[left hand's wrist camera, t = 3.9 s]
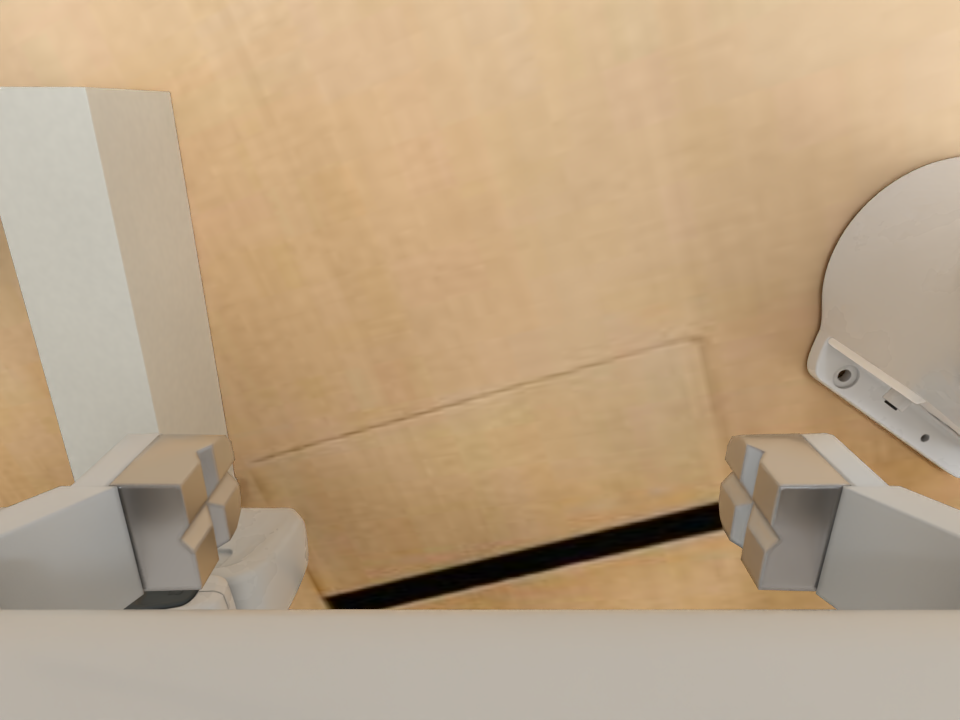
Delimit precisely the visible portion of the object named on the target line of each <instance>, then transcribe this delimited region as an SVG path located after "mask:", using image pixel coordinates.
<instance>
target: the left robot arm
mask: <svg viewBox="0 0 960 720" xmlns="http://www.w3.org/2000/svg"><path fill="white" fill-rule="evenodd" d="M807 370H808V372H809V373H810V375H811V376H812V377H813V378H815V379H816V380H818V381H819V382H820V383H822V384H823V385H825V386H826V387H827V388H829V389H830V390H832V391H833V392H834V393H836V394H837V395H839V396H840V397H841V398H843V399H844V400H846V401H847V402H848V403H850V404H851V405H853V406H854V407H855V408H857V409H858V410H860V411H861V412H862V413H864V414H865V415H867V416H868V417H869V418H871V419H872V420H874V421H875V422H876V423H878V424H879V425H881V426H882V427H883V428H885V429H886V430H888V431H889V432H890V433H892V434H893V435H895V436H896V437H897V438H899V439H900V440H902V441H903V442H904V443H906V444H907V445H909V446H910V447H911V448H913V449H914V450H916V451H917V452H918V453H920V454H921V455H923V456H924V457H925V458H927V459H928V460H930V461H931V462H932V463H934V464H935V465H937V466H938V467H940V468H941V469H942V470H944V471H946V472H947V473H949V474H951V475H953V476H954V477H957V478H960V157H955V158H949V159H945V160H941V161H937V162H934V163H931V164H928V165H925V166H923V167H920V168H918V169H916V170H914V171H912V172H910V173H908V174H906V175H904V176H902V177H901V178H899V179H897V180H896V181H894V182H893V183H891V184H890V185H888V186H887V187H886V188H884V189H883V190H882V191H880V192H879V193H878V194H877V195H876V196H875V197H873V198H872V199H871V200H870V201H869V202H868V203H867V204H866V205H865V206H864V207H863V208H862V209H861V210H860V211H859V213H858V214H857V215H856V216H855V217H854V219H853V220H852V221H851V222H850V224H849V225H848V226H847V228H846V229H845V231H844V232H843V234H842V236H841V237H840V239H839V241H838V243H837V245H836V246H835V249H834V251H833V253H832V255H831V258H830V260H829V263H828V266H827V270H826V273H825V278H824V283H823V289H822V319H821V327H820V330H819V332H818V334H817V336H816V339H815V341H814V343H813V346H812V348H811V351H810V353H809V356H808V360H807ZM842 370H845V373H844V374H843V375H842V376H841V377H838V374H839V373H840V372H841V371H842ZM234 460H235V457H234V453H233V448H232V443H231V441H230V440H229V438H228V437H227V436H226V435H201V434H162V433H149V434H129V435H126V436H125V437H124V438H123V439H122V440H121V441H120V442H119V443H118V444H117V445H115V446H114V447H113V448H112V449H111V450H110V451H109V452H108V453H107V454H106V455H104V456H103V457H102V458H101V459H100V460H99V461H98V462H97V463H96V464H95V465H93V466H92V467H91V468H90V469H89V470H88V471H87V472H86V473H85V474H83V475H82V476H81V477H80V478H79V479H78V480H77V481H76V482H75V483H74V484H72V485H71V486H59V487H57V488H54V489H52V490H49V491H47V492H44V493H42V494H39V495H37V496H34V497H32V498H29V499H27V500H24V501H22V502H19V503H17V504H14V505H12V506H9V507H7V508H4V509H2V510H0V720H960V510H958V509H956V508H953V507H951V506H948V505H946V504H943V503H941V502H938V501H936V500H933V499H931V498H928V497H926V496H923V495H921V494H918V493H916V492H913V491H911V490H908V489H906V488H903V487H901V486H889V485H888V484H886V483H885V482H884V481H883V480H882V479H881V478H880V477H879V476H878V475H877V474H875V473H874V472H873V471H872V470H871V469H870V468H869V467H868V466H867V465H866V464H865V463H863V462H862V461H861V460H860V459H859V458H858V457H857V456H856V455H855V454H854V453H852V452H851V451H850V450H849V449H848V448H847V447H846V446H845V445H844V444H843V443H841V442H840V441H839V440H838V439H837V438H836V437H835V436H834V435H831V434H827V433H814V434H763V435H737V436H732V437H731V439H730V442H729V444H728V446H727V452H726V457H725V460H726V462H727V463H728V465H729V466H730V468H731V470H732V473H731V474H730V475H729V476H728V477H727V478H726V479H725V480H724V481H723V482H722V483H721V488H720V495H719V510H720V519H721V522H722V525H723V529H724V531H725V533H726V535H727V536H728V538H729V540H730V541H731V542H733V543H735V544H736V545H738V546H740V547H741V548H743V550H742V555H741V561H742V562H743V564H744V566H745V568H746V569H747V571H748V573H749V574H750V576H751V578H752V579H753V581H754V583H755V584H756V586H757V588H758V590H789V591H816V594H817V595H818V596H820V597H821V598H822V599H824V600H825V601H826V602H828V603H829V604H831V605H832V606H833V607H835V608H836V609H837V610H262V609H124V608H126V607H127V606H128V605H130V604H131V603H132V602H134V601H135V600H136V599H138V598H139V597H141V596H142V595H143V594H144V591H170V590H202V588H203V586H204V585H205V583H206V581H207V579H208V578H209V576H210V574H211V573H212V571H213V569H214V568H215V566H216V564H217V562H218V561H219V555H218V550H217V548H219V547H220V546H222V545H224V544H225V543H227V542H229V541H230V540H231V538H232V536H233V534H234V533H235V531H236V529H237V526H238V521H239V517H240V513H241V493H240V487H239V483H238V482H237V481H236V480H235V479H234V478H233V477H232V476H231V475H230V474H229V473H228V470H229V468H230V466H231V465H232V463H233V462H234Z"/></svg>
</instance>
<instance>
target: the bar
mask: <svg viewBox="0 0 960 720" xmlns="http://www.w3.org/2000/svg"><path fill="white" fill-rule="evenodd" d="M0 217H1V221H2V224H3V228H4V231H5V235H6V239H7V242H8V246H9V249H10V253H11V256H12V260H13V264H14V267H15V271H16V274H17V278H18V281H19V285H20V288H21V292H22V296H23V299H24V303H25V306H26V310H27V313H28V317H29V320H30V324H31V328H32V331H33V335H34V338H35V342H36V345H37V349H38V353H39V356H40V360H41V363H42V367H43V370H44V374H45V377H46V381H47V385H48V388H49V392H50V395H51V399H52V402H53V406H54V409H55V413H56V417H57V420H58V424H59V427H60V431H61V434H62V438H63V441H64V445H65V449H66V452H67V456H68V459H69V463H70V466H71V470H72V474H73V477H74V481H75V482H76V481H77V480H78V479H79V478H80V477H81V476H82V475H83V474H85V473H86V472H87V471H88V470H89V469H90V468H91V467H92V466H93V465H95V464H96V463H97V462H98V461H99V460H100V459H101V458H102V457H103V456H104V455H106V454H107V453H108V452H109V451H110V450H111V449H112V448H113V447H114V446H115V445H117V444H118V443H119V442H120V441H121V440H122V439H123V438H124V437H125V436H126V435H129V434H149V433H162V434H201V435H226V436H227V437H228V434H227V428H226V422H225V416H224V410H223V404H222V398H221V393H220V387H219V381H218V375H217V369H216V363H215V357H214V351H213V345H212V339H211V333H210V327H209V321H208V315H207V310H206V304H205V298H204V292H203V286H202V280H201V274H200V268H199V262H198V256H197V250H196V244H195V238H194V232H193V226H192V221H191V215H190V209H189V203H188V197H187V191H186V185H185V179H184V173H183V167H182V161H181V155H180V149H179V143H178V137H177V132H176V126H175V120H174V114H173V108H172V102H171V96H170V92H165V91H147V90H129V89H111V88H93V87H0ZM228 473H229V474H230V475H231V476H232V477H235V476H234V470H233V464H232V465H231V466H230V468H229V470H228Z"/></svg>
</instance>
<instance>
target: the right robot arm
mask: <svg viewBox="0 0 960 720" xmlns="http://www.w3.org/2000/svg"><path fill="white" fill-rule="evenodd" d="M233 478H234V479H235V480H236V481H237V479H236V478H235V477H233ZM4 508H7V507H0V510H2V509H4ZM217 550H218V555H219V561H218V562H217V564H216V566H215V568H214V569H213V571H212V573H211V574H210V576H209V578H208V579H207V581H206V583H205V585H204V586H203V588H202V590H170V591H144V594H143V595H142V596H141V597H139V598H138V599H136V600H135V601H134V602H132V603H131V604H130V605H128V606H127V607H126V608H124V609H262V610H288V609H289V607H290V605H291V603H292V601H293V599H294V597H295V595H296V593H297V591H298V588H299V586H300V584H301V582H302V579H303V577H304V574H305V571H306V568H307V564H308V540H307V533H306V527H305V523H304V520H303V519H302V517H301V516H300V515H299V514H298V512H296V511H295V510H294V509H292V508H241V513H240V517H239V521H238V526H237V529H236V531H235V533H234V534H233V536H232V538H231V540H230V541H229V542H227V543H225V544H224V545H222V546H220V547H219V548H217Z"/></svg>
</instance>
